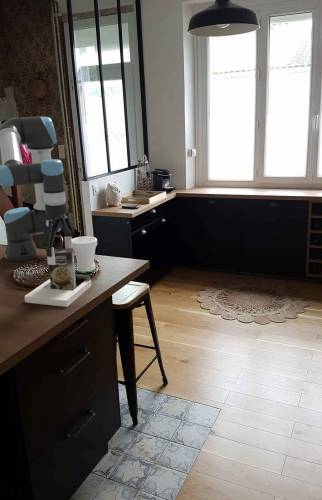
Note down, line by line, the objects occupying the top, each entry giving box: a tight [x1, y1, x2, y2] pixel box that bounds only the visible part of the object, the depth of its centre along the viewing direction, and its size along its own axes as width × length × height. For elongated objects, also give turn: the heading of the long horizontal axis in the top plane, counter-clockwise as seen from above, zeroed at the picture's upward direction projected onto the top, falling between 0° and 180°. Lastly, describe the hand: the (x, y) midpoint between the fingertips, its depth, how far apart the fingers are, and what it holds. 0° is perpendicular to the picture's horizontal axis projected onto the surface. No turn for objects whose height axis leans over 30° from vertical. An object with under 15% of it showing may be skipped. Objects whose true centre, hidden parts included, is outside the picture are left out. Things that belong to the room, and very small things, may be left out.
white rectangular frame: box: [24, 278, 92, 308], centre depth 161 cm, size 20×17×2 cm
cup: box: [72, 235, 98, 274], centre depth 182 cm, size 11×11×14 cm
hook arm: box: [75, 273, 91, 281], centre depth 169 cm, size 1×16×4 cm, turn 74°
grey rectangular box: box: [48, 248, 77, 291], centre depth 162 cm, size 9×6×16 cm
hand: (60, 258), depth 161 cm, fingers open, 13 cm apart
